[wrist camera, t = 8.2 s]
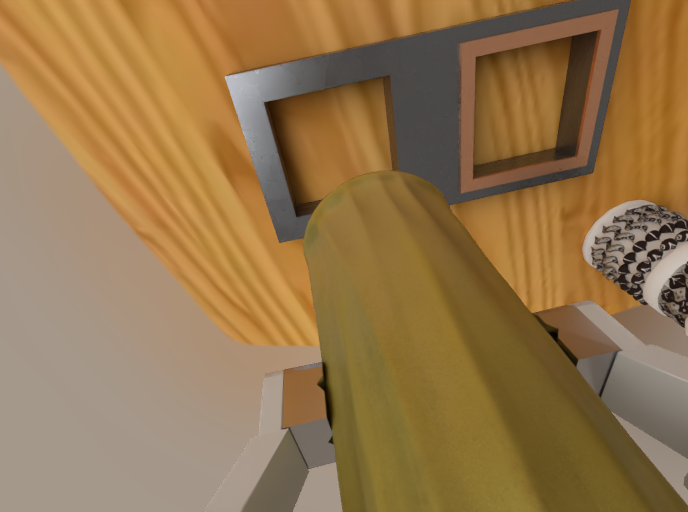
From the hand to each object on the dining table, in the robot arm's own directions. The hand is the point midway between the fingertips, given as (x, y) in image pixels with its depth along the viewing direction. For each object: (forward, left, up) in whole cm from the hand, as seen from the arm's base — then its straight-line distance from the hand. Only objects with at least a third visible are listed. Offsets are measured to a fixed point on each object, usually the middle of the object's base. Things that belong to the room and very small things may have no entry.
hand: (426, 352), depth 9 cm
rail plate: (0, +8, -23) cm, 24 cm away
